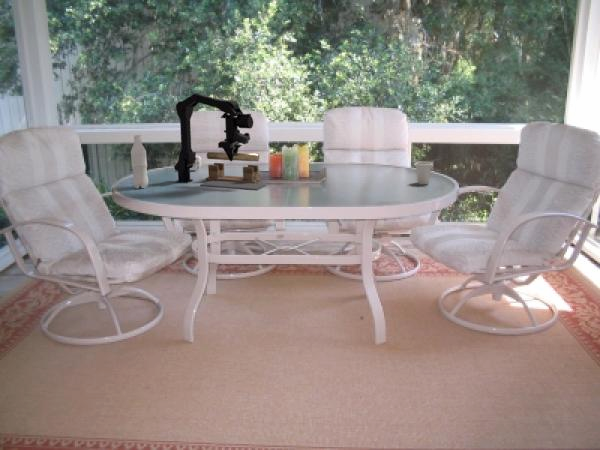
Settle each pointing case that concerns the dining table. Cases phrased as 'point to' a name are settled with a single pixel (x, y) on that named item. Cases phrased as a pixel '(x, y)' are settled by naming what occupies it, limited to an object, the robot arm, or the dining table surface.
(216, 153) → the bronze rail
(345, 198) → the dining table surface
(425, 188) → the dining table surface
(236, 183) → the rubber mat
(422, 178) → the dixie cup
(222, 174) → the rail stand
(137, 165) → the water bottle
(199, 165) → the penguin figurine
